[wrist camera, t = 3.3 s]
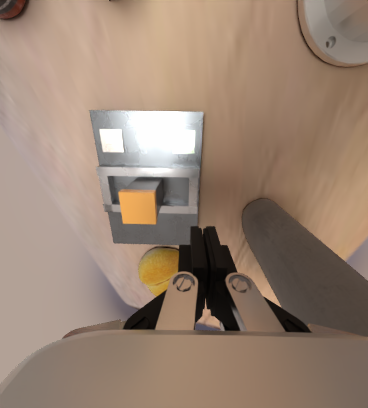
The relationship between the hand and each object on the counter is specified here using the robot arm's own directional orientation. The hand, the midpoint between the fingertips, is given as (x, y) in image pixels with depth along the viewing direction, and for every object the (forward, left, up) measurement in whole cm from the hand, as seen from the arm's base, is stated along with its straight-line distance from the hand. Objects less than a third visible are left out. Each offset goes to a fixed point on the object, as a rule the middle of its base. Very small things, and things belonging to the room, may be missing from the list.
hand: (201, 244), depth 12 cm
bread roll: (+4, +14, -12) cm, 19 cm away
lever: (+6, -1, -10) cm, 12 cm away
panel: (+6, -1, -12) cm, 13 cm away
